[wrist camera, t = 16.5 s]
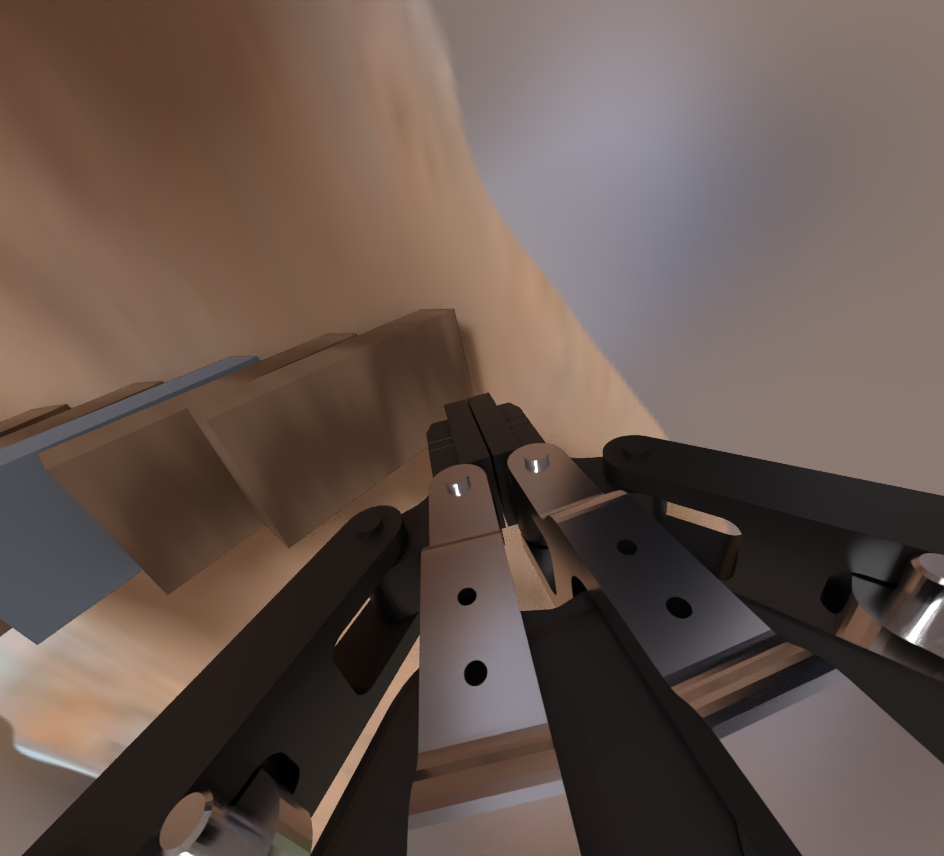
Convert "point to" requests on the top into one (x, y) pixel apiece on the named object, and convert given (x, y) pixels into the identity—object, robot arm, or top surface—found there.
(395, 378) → the domino
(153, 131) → the top surface
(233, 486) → the domino
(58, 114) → the top surface
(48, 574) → the domino
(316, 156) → the top surface
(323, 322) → the top surface
